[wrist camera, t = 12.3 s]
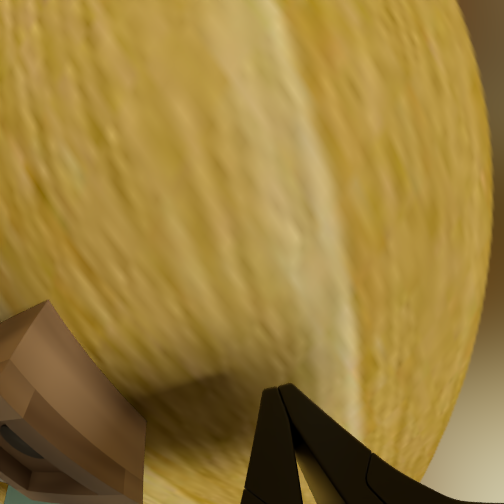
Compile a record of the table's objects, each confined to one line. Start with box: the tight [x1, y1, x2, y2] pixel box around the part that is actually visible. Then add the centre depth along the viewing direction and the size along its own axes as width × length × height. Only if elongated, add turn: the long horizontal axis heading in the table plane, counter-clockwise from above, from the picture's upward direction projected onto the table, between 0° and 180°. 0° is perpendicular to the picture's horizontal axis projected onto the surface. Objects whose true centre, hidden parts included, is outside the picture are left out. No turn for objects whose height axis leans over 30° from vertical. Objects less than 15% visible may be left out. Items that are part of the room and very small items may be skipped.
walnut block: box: [0, 300, 147, 504], centre depth 7 cm, size 6×6×4 cm
